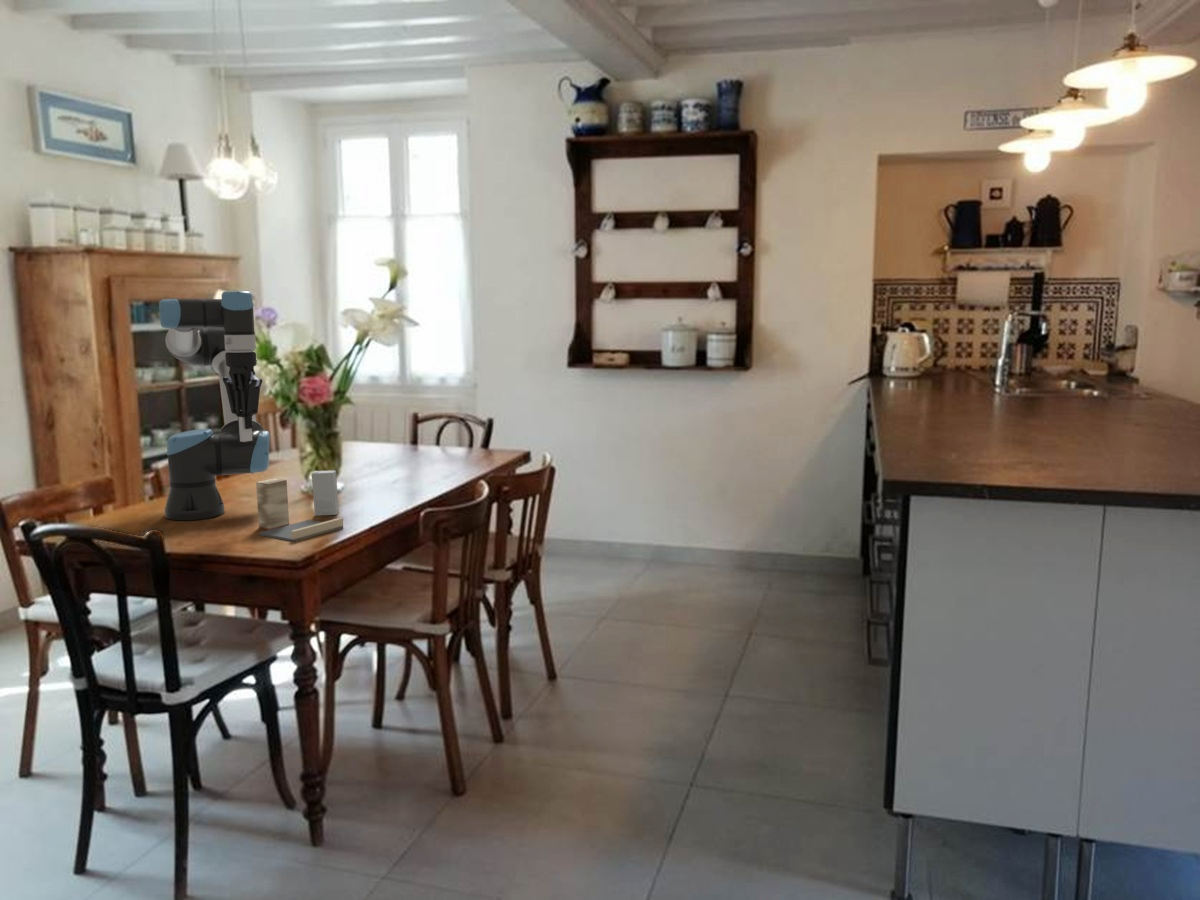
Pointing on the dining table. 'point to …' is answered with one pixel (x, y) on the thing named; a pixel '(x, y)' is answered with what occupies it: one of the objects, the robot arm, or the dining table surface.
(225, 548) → the dining table surface
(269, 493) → the beech block
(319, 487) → the skincare box
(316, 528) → the slate mat
